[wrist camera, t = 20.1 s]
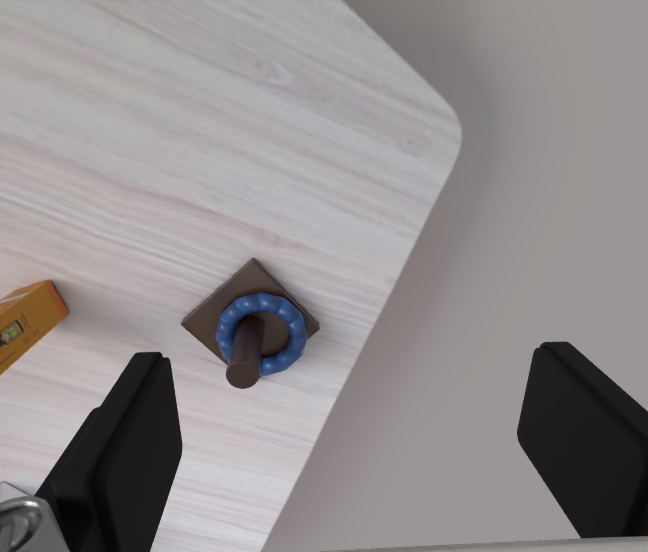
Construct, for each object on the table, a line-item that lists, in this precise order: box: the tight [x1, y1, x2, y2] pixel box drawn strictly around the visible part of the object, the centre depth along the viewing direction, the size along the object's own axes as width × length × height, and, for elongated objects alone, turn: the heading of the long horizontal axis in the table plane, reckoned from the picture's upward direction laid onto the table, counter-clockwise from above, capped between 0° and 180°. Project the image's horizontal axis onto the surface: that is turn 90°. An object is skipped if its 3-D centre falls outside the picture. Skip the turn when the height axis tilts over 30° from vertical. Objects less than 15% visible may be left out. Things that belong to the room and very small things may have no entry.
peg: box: [181, 258, 320, 389], centre depth 33 cm, size 8×8×8 cm
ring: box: [215, 292, 308, 376], centre depth 35 cm, size 7×7×1 cm
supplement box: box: [0, 280, 69, 375], centre depth 30 cm, size 3×3×10 cm
